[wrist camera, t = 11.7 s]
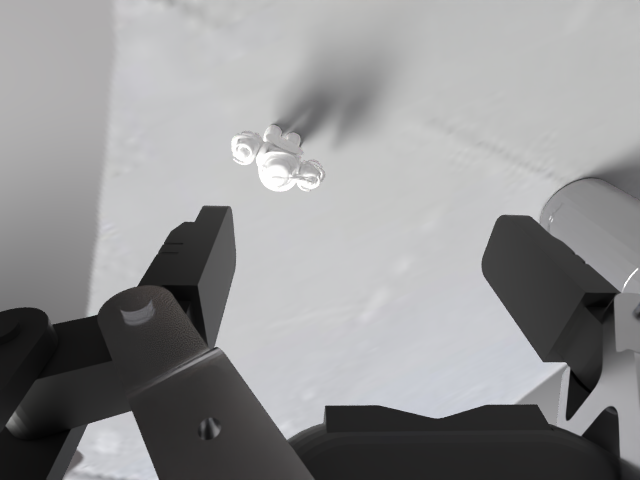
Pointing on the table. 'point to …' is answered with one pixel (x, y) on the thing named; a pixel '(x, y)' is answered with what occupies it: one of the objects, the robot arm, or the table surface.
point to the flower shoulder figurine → (277, 159)
